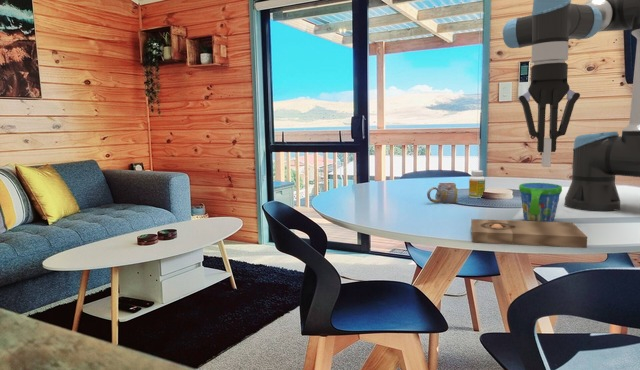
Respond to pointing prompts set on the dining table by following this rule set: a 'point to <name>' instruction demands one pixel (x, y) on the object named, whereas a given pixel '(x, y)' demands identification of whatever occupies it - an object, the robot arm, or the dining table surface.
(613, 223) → the dining table surface
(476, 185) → the supplement bottle
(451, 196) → the mug
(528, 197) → the snack cup
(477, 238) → the wooden board
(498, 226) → the ball
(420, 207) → the dining table surface
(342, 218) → the dining table surface
